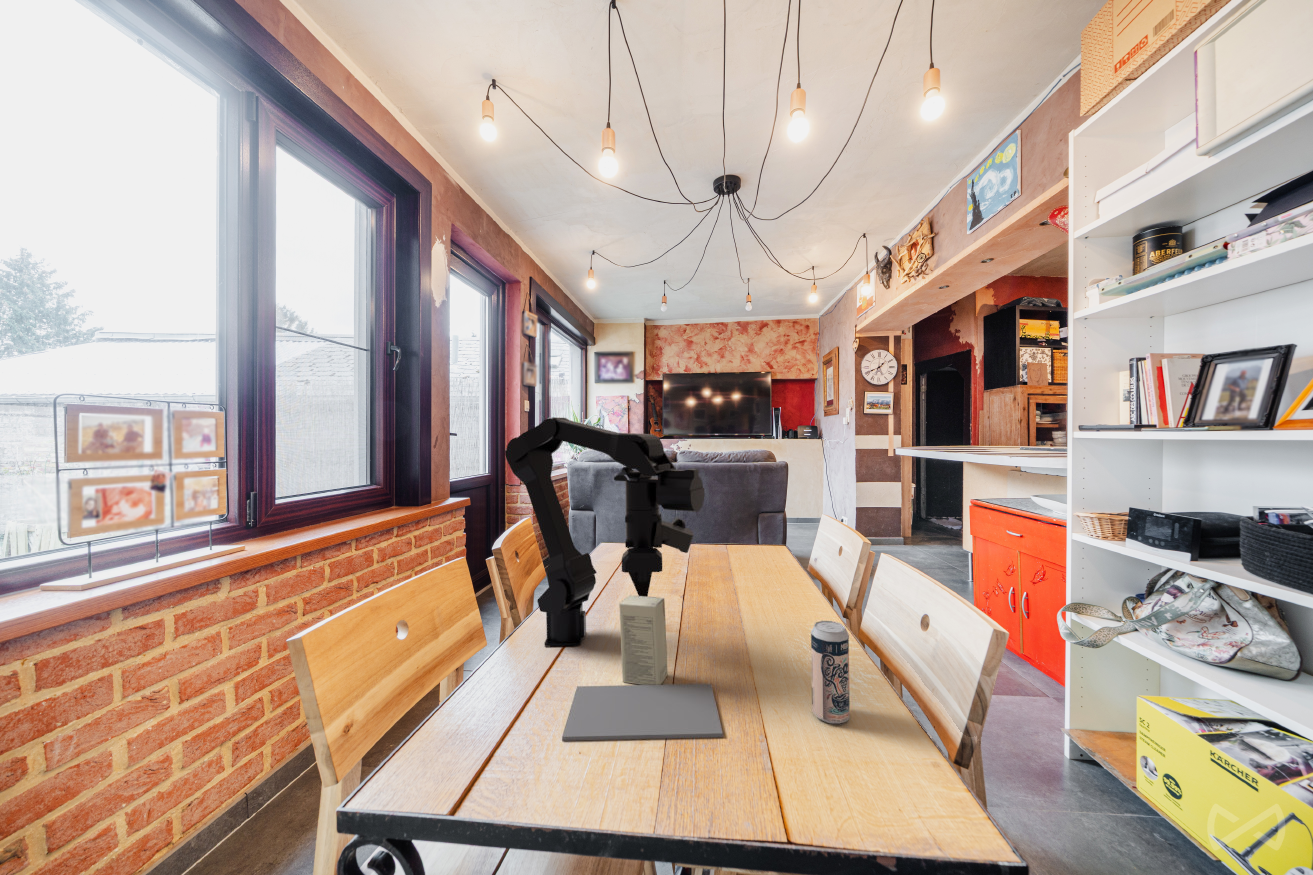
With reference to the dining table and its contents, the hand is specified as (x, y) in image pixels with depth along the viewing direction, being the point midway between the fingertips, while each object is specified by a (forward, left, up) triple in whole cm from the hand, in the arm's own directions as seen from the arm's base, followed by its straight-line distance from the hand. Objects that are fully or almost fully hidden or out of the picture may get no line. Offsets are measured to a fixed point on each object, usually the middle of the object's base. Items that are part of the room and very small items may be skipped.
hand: (643, 599), depth 82 cm
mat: (0, -16, -10) cm, 19 cm away
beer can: (+25, -18, -10) cm, 32 cm away
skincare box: (0, -7, -10) cm, 12 cm away
